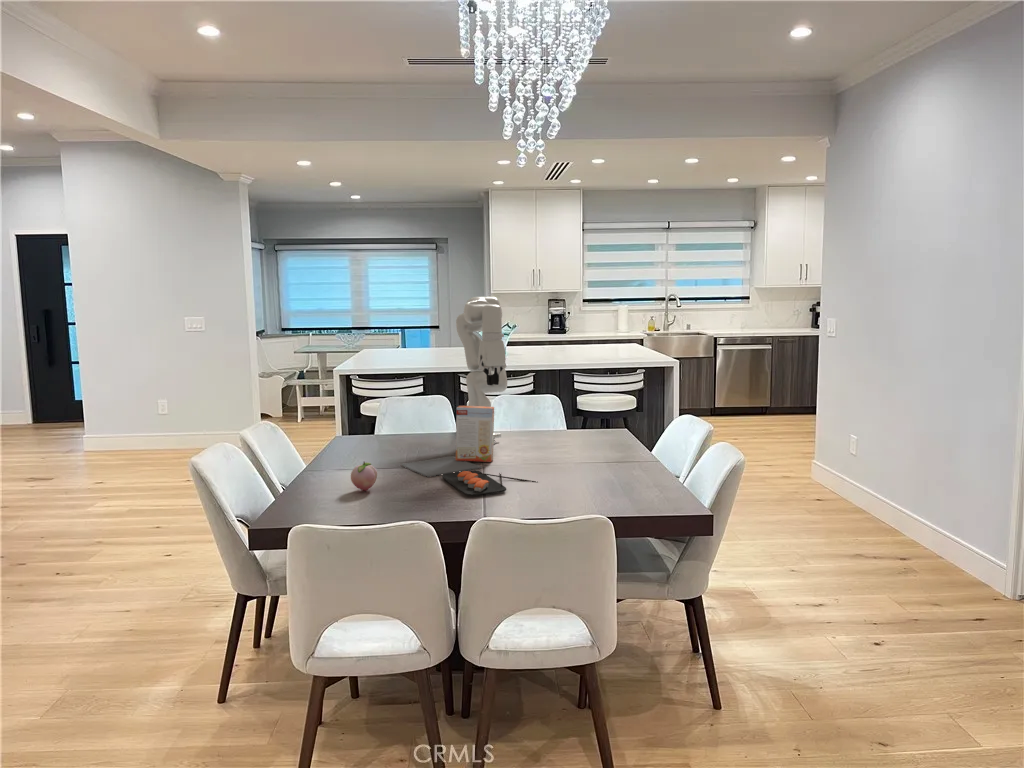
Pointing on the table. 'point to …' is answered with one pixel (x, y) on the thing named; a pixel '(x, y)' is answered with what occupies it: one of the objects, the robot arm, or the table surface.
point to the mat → (439, 466)
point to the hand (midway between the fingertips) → (492, 384)
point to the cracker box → (474, 433)
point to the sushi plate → (476, 482)
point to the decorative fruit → (364, 476)
